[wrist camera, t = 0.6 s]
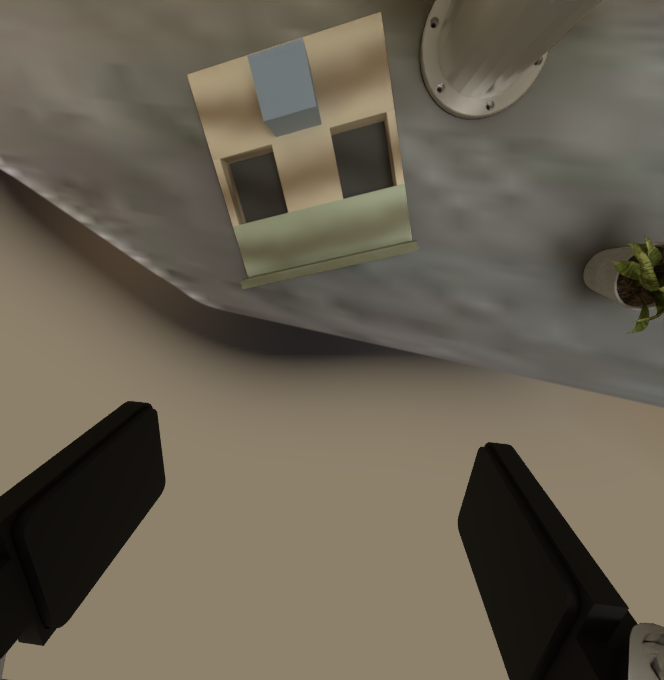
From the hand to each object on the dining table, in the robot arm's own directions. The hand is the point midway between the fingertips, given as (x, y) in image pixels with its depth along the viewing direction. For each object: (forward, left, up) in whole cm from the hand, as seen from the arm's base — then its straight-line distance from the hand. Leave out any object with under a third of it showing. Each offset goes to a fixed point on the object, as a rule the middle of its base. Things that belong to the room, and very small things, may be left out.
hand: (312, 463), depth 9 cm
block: (-20, -1, -31) cm, 37 cm away
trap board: (-14, -1, -34) cm, 36 cm away
